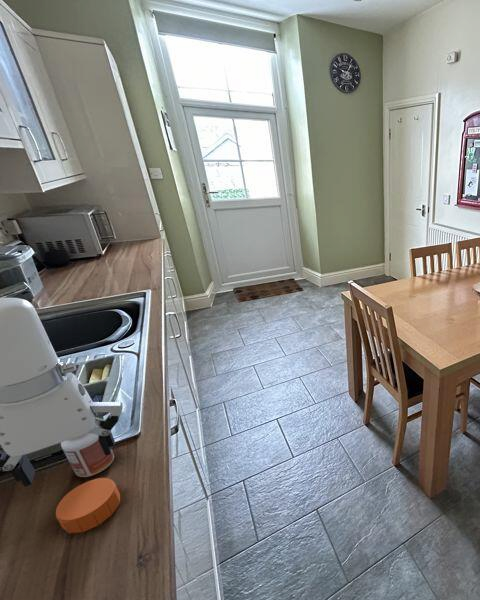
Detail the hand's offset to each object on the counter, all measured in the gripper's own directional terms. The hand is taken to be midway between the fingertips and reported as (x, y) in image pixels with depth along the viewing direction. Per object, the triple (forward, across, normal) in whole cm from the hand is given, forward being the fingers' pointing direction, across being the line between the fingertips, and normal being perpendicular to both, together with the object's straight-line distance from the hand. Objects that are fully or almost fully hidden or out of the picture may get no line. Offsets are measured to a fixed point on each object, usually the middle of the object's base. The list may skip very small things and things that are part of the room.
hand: (71, 463), depth 55 cm
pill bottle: (+12, 0, -12) cm, 17 cm away
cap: (+12, 0, 0) cm, 12 cm away
